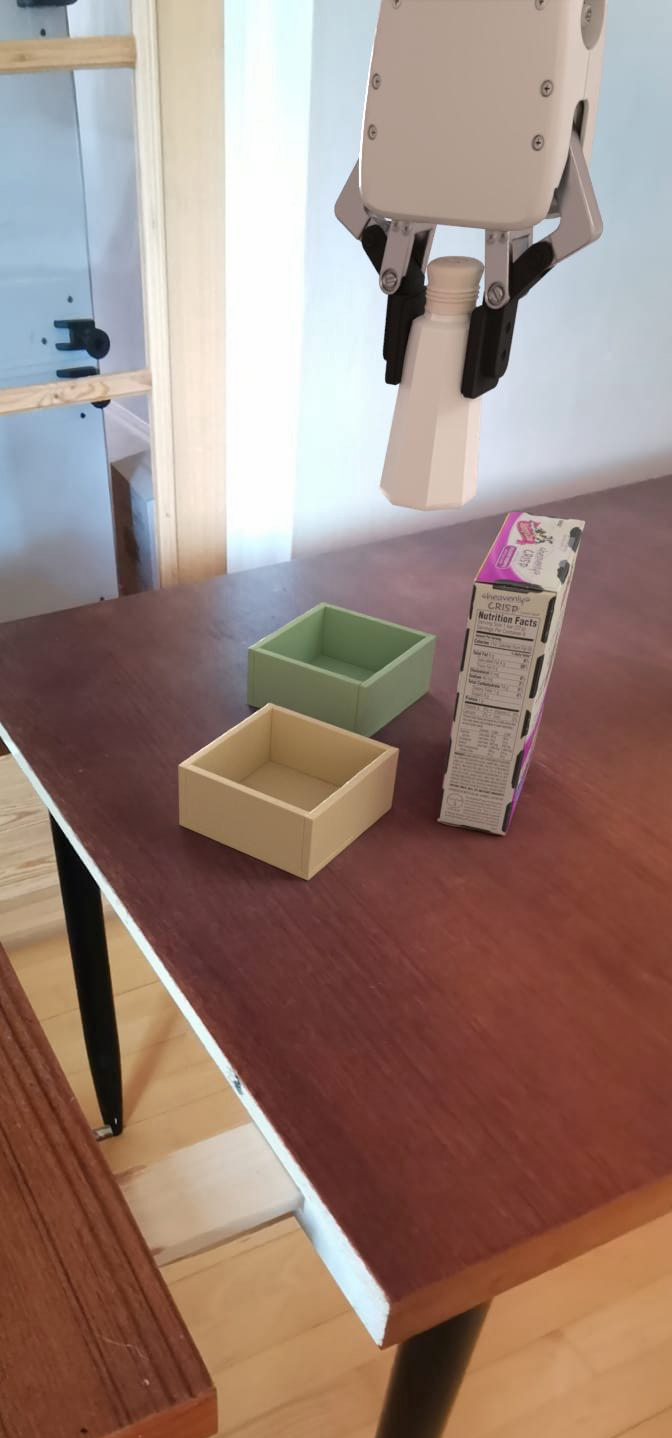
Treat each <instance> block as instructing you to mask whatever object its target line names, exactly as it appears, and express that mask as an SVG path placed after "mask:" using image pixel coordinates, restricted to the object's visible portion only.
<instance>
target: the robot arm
mask: <svg viewBox="0 0 672 1438" xmlns="http://www.w3.org/2000/svg"><path fill="white" fill-rule="evenodd" d="M608 5H609V0H380V3H379V10H378V15H377V21H376V24H375V32H374V37H373V42H372V49H371V56H370V63H369V69H368V76H367V85H366V92H365V100H364V108H363V118H362V127H361V139H360V152H359V157H358V159H357V161H356V163H355V164H354V166H353V168H352V170H351V172H350V174H349V176H348V178H347V179H346V182H345V183H344V186H343V188H342V189H341V192H340V194H339V195H338V198H337V199H336V201H335V203H334V206H333V207H334V209H333V213H334V215H335V218H336V219H337V221H339V223H340V224H341V225H342V226H343V227H344V228H345V229H346V230H347V231H348V232H349V233H350V234H351V235H352V237H354V238H355V240H356V241H359V242H360V243H361V246H362V249H363V251H364V253H365V254H366V256H367V258H368V260H369V262H370V263H371V264H372V267H373V268H374V270H375V272H376V273H377V275H378V285H379V289H380V290H381V292H382V293H383V294H385V295H387V301H386V309H385V310H386V311H385V320H384V321H385V322H384V333H383V344H382V358H383V361H385V372H384V382H385V384H386V385H390V386H391V385H392V386H398V385H399V384H400V383H401V378H402V371H403V364H404V358H405V353H406V348H407V343H408V338H409V334H410V329H411V325H412V321H413V320H414V319H416V318H417V317H419V316H421V315H423V314H424V313H425V305H426V299H427V298H426V296H425V295H426V294H427V293H426V290H427V287H426V286H427V285H425V281H426V273H427V265H428V264H429V259H430V255H431V252H432V246H433V244H434V243H433V242H434V238H435V234H436V230H437V226H447V227H449V226H450V227H458V228H469V229H479V230H484V267H485V268H484V290H483V294H482V295H483V296H482V301H481V304H480V305H478V306H477V307H476V308H475V309H473V311H472V314H471V319H470V326H469V333H468V340H467V348H466V355H465V362H464V370H463V377H462V384H461V394H463V396H464V398H470V399H475V398H477V397H479V396H481V395H482V396H483V395H485V394H486V393H488V392H490V391H492V390H494V389H495V388H496V387H497V386H498V384H499V381H500V379H501V378H503V376H504V375H505V374H506V372H507V369H508V366H509V361H510V356H511V350H512V344H513V338H514V332H515V325H516V318H517V313H518V306H519V301H520V300H521V299H523V298H524V297H526V296H527V295H528V294H529V292H530V290H531V289H532V288H533V287H535V286H536V284H538V283H539V282H540V281H541V280H542V279H543V278H545V276H546V275H547V274H548V273H549V272H551V270H553V269H554V268H555V267H556V266H557V265H558V264H560V263H562V262H563V261H564V260H566V259H568V258H570V257H572V256H574V255H575V254H577V253H578V252H580V251H581V250H583V249H585V248H587V247H588V246H590V245H592V244H593V243H595V242H596V241H598V240H599V239H600V237H601V236H602V234H603V232H604V223H603V218H602V215H601V212H600V207H599V204H598V201H597V197H596V193H595V190H594V185H593V183H592V181H591V176H590V172H589V169H590V163H591V157H592V153H593V145H594V139H595V131H596V123H597V116H598V108H599V101H600V100H599V99H600V91H601V84H602V83H601V82H602V77H603V76H602V75H603V66H604V55H605V54H604V53H605V45H606V43H605V42H606V34H607V33H606V31H607V20H608V7H609V6H608ZM558 218H560V220H559V224H558V226H557V228H555V230H553V231H552V232H551V233H549V234H548V235H546V236H544V237H543V238H542V239H540V240H538V241H536V242H534V227H535V226H537V225H538V224H540V223H542V222H543V221H544V220H553V219H558ZM387 219H389V220H387Z"/></svg>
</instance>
